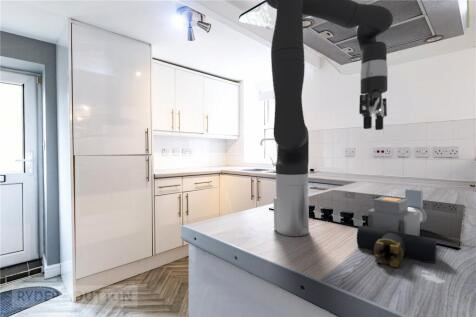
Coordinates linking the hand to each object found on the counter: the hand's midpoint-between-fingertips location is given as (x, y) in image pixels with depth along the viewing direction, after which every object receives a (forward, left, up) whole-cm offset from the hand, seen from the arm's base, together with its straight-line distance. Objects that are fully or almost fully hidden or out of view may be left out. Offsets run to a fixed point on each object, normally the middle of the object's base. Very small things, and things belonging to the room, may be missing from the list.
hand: (373, 129), depth 80 cm
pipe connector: (+14, -23, -31) cm, 41 cm away
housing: (+10, -12, -30) cm, 34 cm away
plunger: (+10, -14, -22) cm, 28 cm away
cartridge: (+10, -1, -29) cm, 31 cm away
